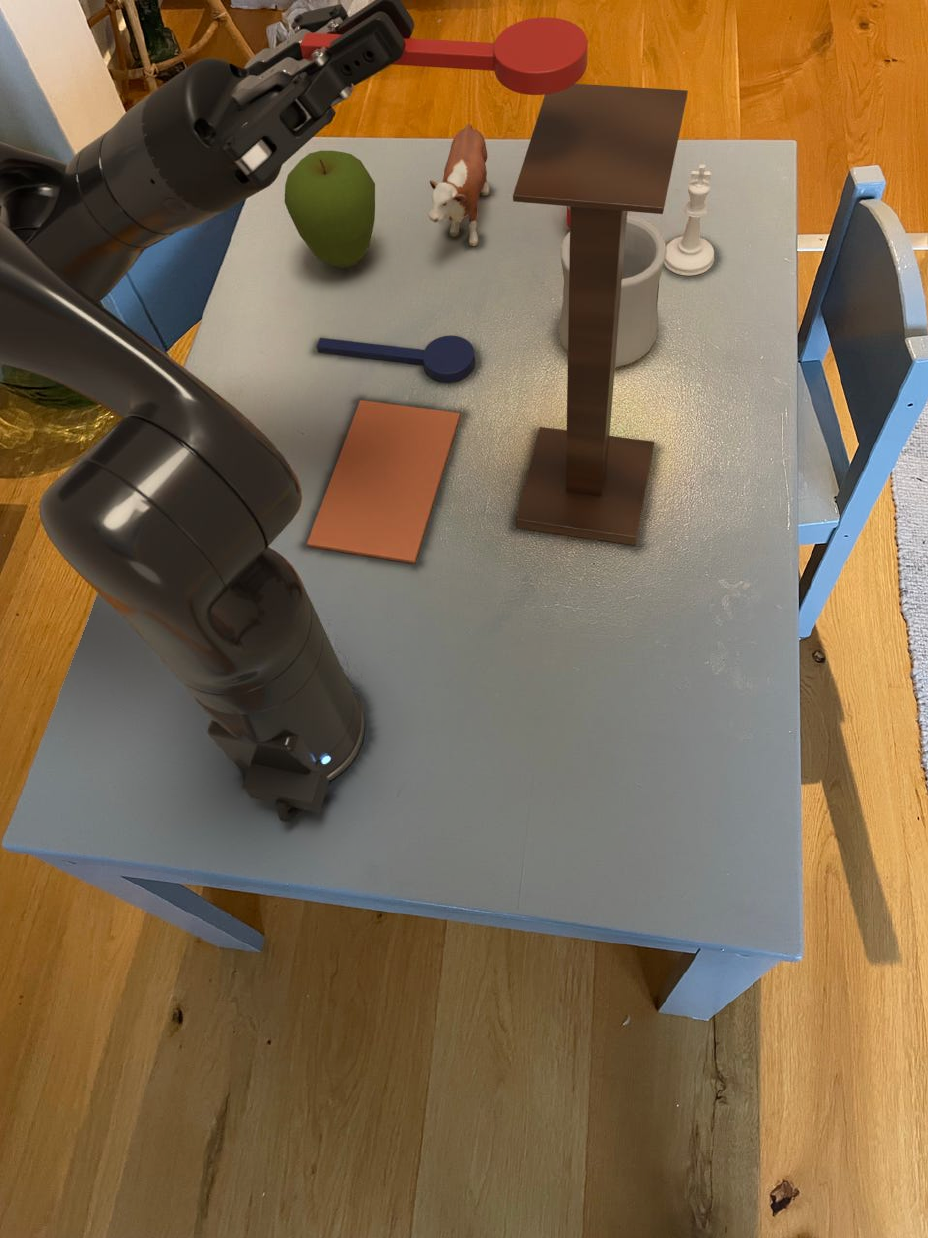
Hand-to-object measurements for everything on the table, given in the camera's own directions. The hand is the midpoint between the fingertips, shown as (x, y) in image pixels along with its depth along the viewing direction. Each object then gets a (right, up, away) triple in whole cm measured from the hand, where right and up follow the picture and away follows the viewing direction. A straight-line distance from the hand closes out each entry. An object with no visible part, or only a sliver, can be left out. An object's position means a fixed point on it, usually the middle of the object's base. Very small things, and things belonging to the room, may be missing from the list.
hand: (398, 21), depth 48 cm
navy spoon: (-3, -6, +40) cm, 41 cm away
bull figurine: (+4, +10, +48) cm, 50 cm away
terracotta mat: (-3, -19, +33) cm, 38 cm away
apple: (-9, +6, +47) cm, 49 cm away
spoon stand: (+14, -20, +31) cm, 39 cm away
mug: (+16, -3, +40) cm, 43 cm away
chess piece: (+25, +4, +43) cm, 50 cm away
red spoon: (+2, -1, +1) cm, 3 cm away
